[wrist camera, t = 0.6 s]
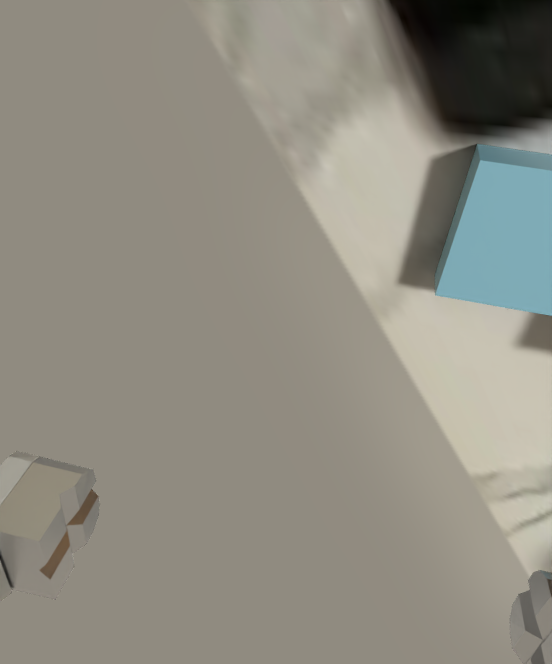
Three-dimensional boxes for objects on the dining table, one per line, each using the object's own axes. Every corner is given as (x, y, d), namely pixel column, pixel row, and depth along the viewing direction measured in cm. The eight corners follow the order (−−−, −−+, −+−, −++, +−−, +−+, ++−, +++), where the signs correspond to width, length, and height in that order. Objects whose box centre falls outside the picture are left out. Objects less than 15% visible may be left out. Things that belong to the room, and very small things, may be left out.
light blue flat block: (477, 144, 39) (480, 160, 37) (618, 164, 38) (629, 182, 36) (434, 275, 47) (435, 295, 45) (550, 295, 46) (556, 316, 44)
